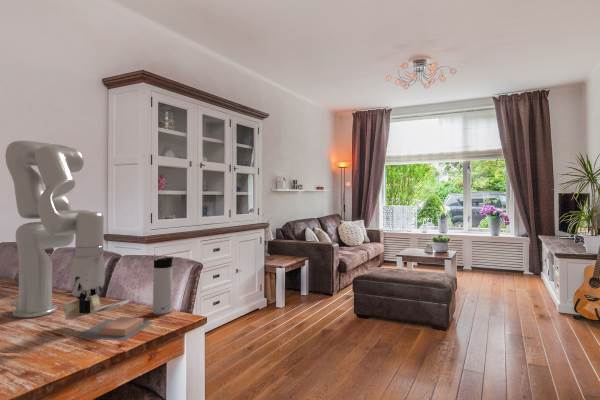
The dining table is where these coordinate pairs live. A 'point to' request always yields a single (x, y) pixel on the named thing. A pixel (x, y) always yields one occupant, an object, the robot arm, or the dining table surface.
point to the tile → (121, 326)
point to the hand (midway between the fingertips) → (88, 310)
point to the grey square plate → (95, 334)
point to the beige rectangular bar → (73, 307)
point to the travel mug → (162, 286)
